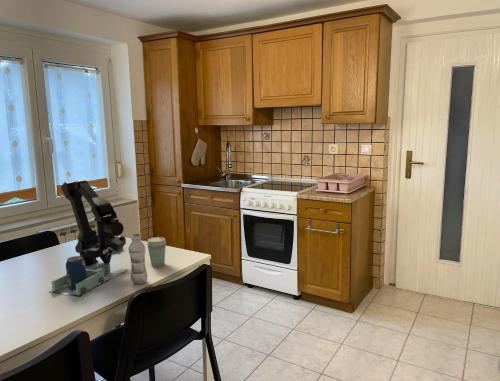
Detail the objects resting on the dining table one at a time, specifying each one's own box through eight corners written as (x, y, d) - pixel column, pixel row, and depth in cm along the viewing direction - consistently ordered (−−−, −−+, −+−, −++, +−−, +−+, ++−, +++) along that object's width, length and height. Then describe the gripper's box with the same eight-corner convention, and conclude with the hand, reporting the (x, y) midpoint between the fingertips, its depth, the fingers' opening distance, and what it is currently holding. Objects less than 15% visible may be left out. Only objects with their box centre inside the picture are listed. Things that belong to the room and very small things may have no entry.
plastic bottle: (139, 287, 154) (135, 238, 151) (127, 284, 158) (123, 236, 154) (151, 281, 159) (148, 234, 156) (139, 278, 163) (136, 232, 159)
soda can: (90, 284, 158) (87, 255, 156) (81, 291, 151) (78, 261, 149) (74, 283, 159) (71, 255, 157) (64, 290, 152) (61, 261, 150)
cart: (50, 290, 152) (49, 280, 151) (91, 269, 173) (91, 260, 172) (81, 295, 147) (80, 285, 146) (120, 272, 168) (119, 264, 167)
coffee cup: (162, 268, 173) (161, 242, 171) (144, 267, 175) (143, 241, 173) (170, 262, 182) (169, 237, 180) (153, 261, 183) (151, 236, 181)
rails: (48, 292, 151) (48, 291, 151) (100, 265, 178) (100, 265, 178) (79, 297, 146) (79, 296, 146) (127, 269, 173) (127, 269, 173)
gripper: (105, 239, 157) (108, 276, 160) (133, 227, 175) (135, 260, 177) (82, 237, 161) (86, 273, 164) (112, 225, 178) (115, 258, 181)
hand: (107, 266), depth 171 cm, fingers closed
